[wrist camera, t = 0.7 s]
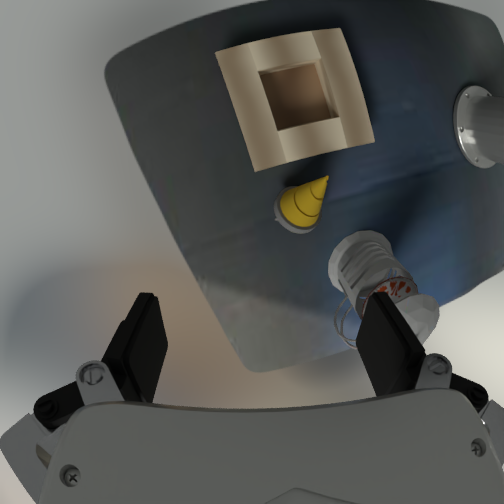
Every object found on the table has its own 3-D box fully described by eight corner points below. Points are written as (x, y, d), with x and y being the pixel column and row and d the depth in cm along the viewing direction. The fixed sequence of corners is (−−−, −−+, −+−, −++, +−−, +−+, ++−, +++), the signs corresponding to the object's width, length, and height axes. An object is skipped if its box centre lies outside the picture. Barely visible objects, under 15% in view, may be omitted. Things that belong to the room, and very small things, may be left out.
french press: (402, 266, 36) (502, 398, 13) (338, 312, 39) (396, 467, 16) (374, 215, 32) (512, 352, 10) (302, 268, 35) (361, 453, 13)
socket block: (330, 37, 23) (340, 28, 19) (361, 139, 28) (374, 142, 25) (218, 61, 24) (214, 52, 21) (254, 166, 30) (255, 171, 26)
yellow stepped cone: (258, 206, 32) (291, 155, 23) (296, 198, 34) (335, 151, 25) (275, 247, 31) (317, 207, 22) (313, 236, 33) (361, 197, 24)
